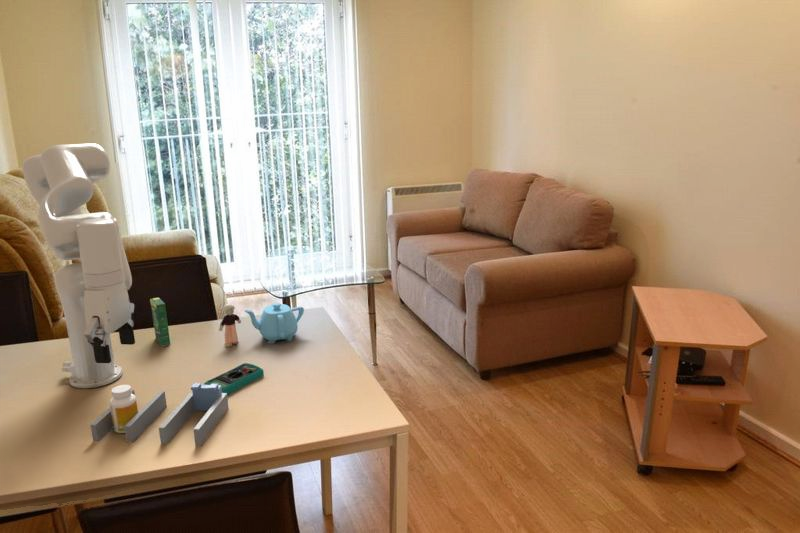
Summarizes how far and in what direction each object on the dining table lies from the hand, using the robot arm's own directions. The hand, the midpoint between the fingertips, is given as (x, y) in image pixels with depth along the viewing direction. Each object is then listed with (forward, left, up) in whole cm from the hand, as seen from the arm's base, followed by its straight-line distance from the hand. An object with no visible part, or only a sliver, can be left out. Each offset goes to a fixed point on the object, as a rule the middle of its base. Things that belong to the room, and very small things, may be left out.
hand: (116, 352), depth 131 cm
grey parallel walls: (+8, +2, -18) cm, 20 cm away
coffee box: (-15, +48, -18) cm, 54 cm away
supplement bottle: (0, 0, -18) cm, 19 cm away
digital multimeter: (+16, +23, -19) cm, 34 cm away
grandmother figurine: (+7, +48, -18) cm, 52 cm away
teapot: (+19, +53, -18) cm, 59 cm away
